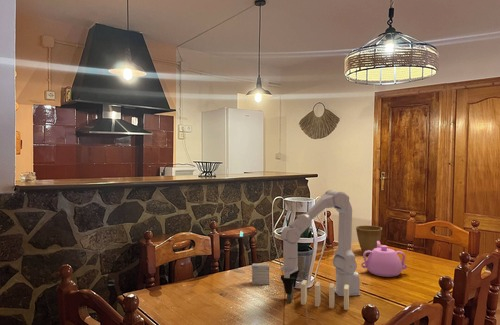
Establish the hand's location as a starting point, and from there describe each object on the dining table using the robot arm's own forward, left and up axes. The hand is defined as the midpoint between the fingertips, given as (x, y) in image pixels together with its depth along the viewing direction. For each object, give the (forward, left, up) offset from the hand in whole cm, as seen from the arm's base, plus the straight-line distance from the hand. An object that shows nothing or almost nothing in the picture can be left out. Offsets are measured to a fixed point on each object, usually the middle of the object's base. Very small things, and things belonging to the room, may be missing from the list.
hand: (290, 290), depth 146 cm
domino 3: (-10, +5, -4) cm, 12 cm away
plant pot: (-63, -63, -4) cm, 89 cm away
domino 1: (0, 0, -4) cm, 4 cm away
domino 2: (-5, +2, -4) cm, 7 cm away
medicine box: (+9, -21, -4) cm, 24 cm away
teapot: (-55, -30, -4) cm, 63 cm away
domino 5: (-20, +9, -4) cm, 22 cm away
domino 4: (-15, +7, -4) cm, 17 cm away
